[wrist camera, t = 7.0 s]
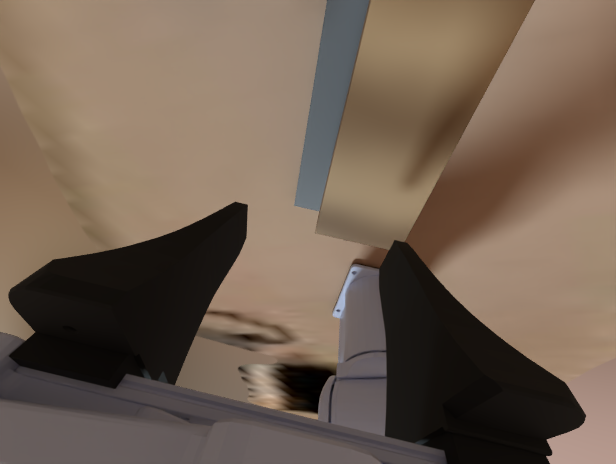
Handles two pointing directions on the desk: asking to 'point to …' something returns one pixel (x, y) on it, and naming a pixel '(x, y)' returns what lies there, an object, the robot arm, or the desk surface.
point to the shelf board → (410, 109)
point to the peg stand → (329, 96)
